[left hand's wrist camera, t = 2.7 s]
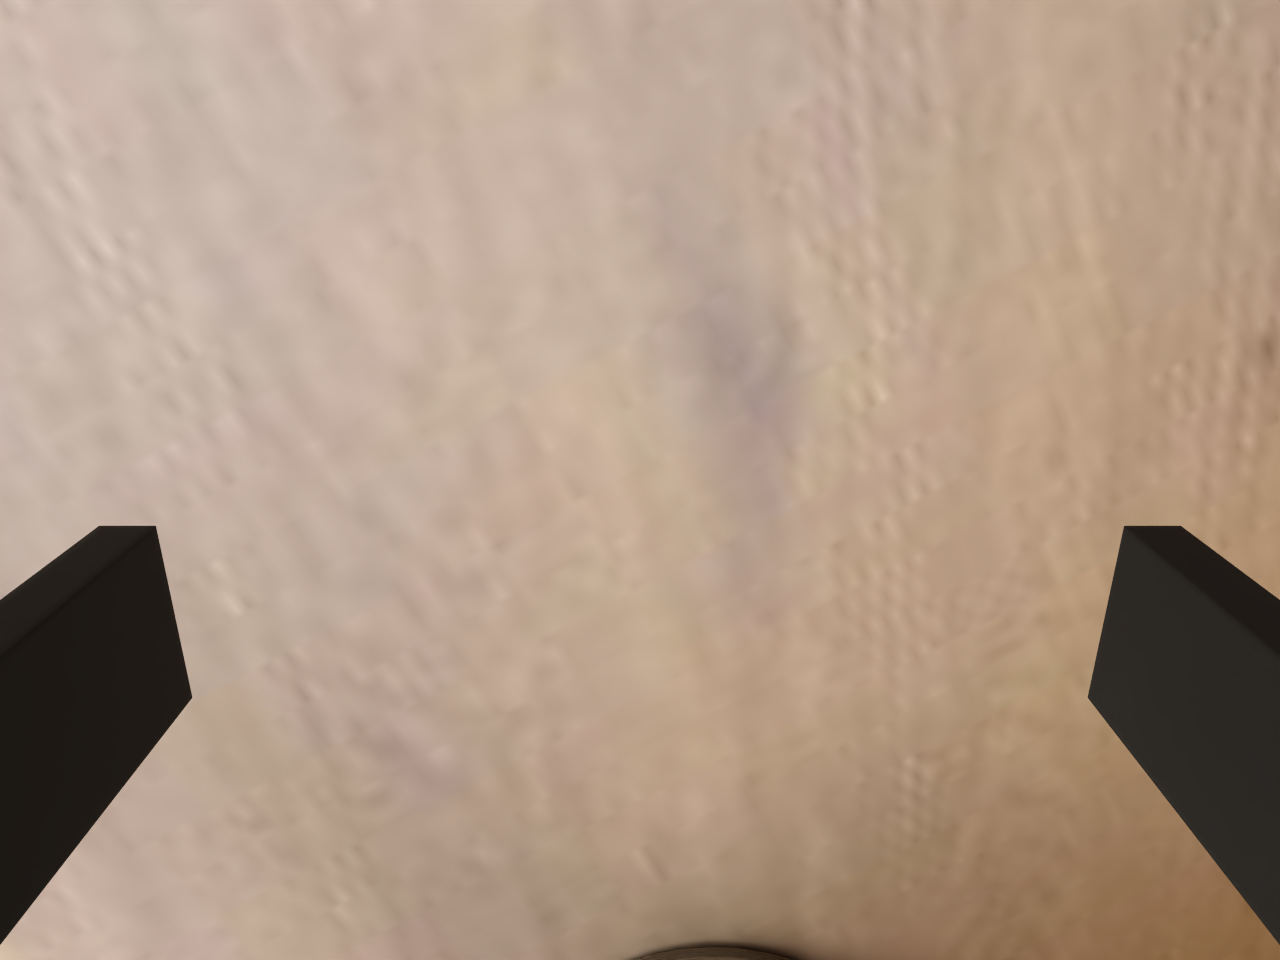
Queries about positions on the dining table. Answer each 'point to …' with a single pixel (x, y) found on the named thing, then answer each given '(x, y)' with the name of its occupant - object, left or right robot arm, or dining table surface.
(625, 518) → the dining table surface
